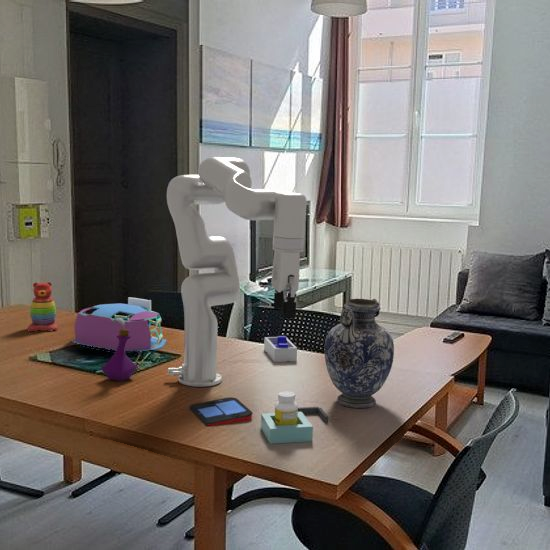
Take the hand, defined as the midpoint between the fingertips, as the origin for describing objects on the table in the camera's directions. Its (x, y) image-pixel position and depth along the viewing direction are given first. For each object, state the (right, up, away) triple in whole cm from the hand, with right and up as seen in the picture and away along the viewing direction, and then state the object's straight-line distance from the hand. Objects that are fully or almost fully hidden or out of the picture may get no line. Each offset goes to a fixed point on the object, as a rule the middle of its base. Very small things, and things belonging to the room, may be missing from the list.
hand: (284, 313), depth 166 cm
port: (0, -28, -7) cm, 29 cm away
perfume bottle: (-48, -21, +32) cm, 61 cm away
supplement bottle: (0, -28, -7) cm, 29 cm away
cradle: (+6, -27, +3) cm, 28 cm away
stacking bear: (-90, -11, +91) cm, 128 cm away
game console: (-16, -27, +6) cm, 31 cm away
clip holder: (-1, -18, +63) cm, 65 cm away
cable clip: (-1, -19, +62) cm, 65 cm away
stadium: (-57, -15, +74) cm, 95 cm away
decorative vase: (+20, -25, +17) cm, 37 cm away
